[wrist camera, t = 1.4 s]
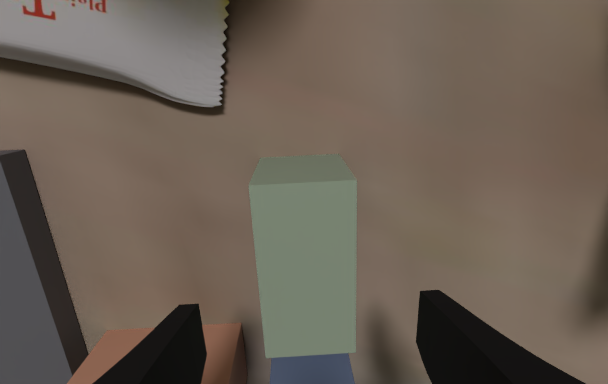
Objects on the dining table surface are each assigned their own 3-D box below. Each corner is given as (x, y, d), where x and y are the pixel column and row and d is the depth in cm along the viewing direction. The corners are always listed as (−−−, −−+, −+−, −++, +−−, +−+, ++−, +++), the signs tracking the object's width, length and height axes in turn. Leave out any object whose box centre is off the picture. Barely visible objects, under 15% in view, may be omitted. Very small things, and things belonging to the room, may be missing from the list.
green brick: (339, 287, 19) (355, 352, 15) (272, 290, 19) (265, 358, 14) (338, 153, 17) (356, 179, 12) (260, 157, 17) (248, 185, 12)
